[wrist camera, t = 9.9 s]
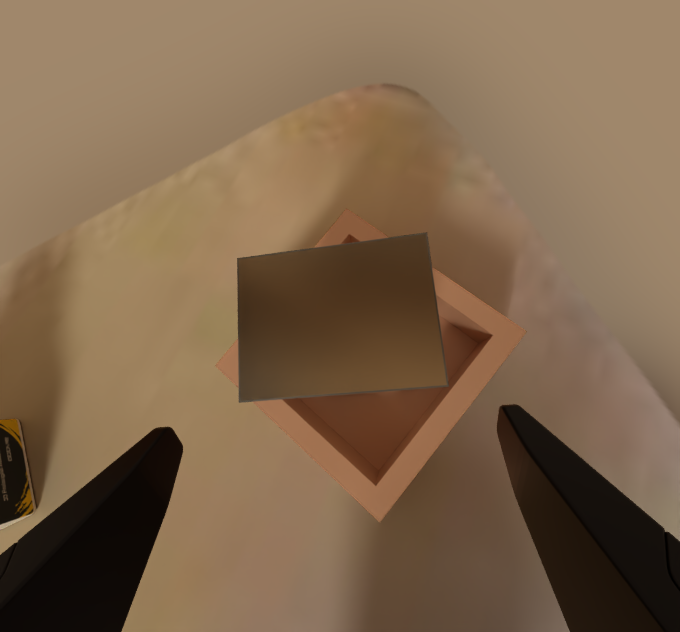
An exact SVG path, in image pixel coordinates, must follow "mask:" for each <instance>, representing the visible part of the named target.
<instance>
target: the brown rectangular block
mask: <svg viewBox="0 0 680 632" xmlns="http://www.w3.org/2000/svg"><path fill="white" fill-rule="evenodd" d="M237 277H238V376H239V403H240V402H254V401H267V400H280V399H293V398H306V397H320V396H333V395H346V394H359V393H372V392H385V391H399V390H412V389H425V388H438V387H449V383H448V376H447V369H446V362H445V355H444V348H443V341H442V334H441V327H440V320H439V313H438V306H437V299H436V292H435V285H434V278H433V271H432V264H431V257H430V250H429V243H428V236H427V232H426V233H419V234H412V235H404V236H397V237H390V238H382V239H375V240H368V241H360V242H353V243H346V244H338V245H331V246H324V247H316V248H309V249H302V250H294V251H287V252H280V253H273V254H265V255H258V256H251V257H243V258H237Z"/></svg>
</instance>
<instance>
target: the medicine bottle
mask: <svg viewBox="0 0 680 632" xmlns="http://www.w3.org/2000/svg"><path fill="white" fill-rule="evenodd" d="M35 510H36V505H35V500H34V494H33V489H32V484H31V478H30V473H29V468H28V462H27V457H26V452H25V446H24V441H23V436H22V430H21V425H20V421H19V420H18V419H5V420H0V530H1V529H3V528H5V527H7V526H9V525H11V524H14V523H16V522H18V521H20V520H22V519H24V518H26V517H28V516H30V515H32V514H33V513H34V512H35Z"/></svg>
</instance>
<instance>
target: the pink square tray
mask: <svg viewBox="0 0 680 632" xmlns="http://www.w3.org/2000/svg"><path fill="white" fill-rule="evenodd" d="M382 238H389V237H388V236H386V235H385V234H383V233H382V232H381V231H379V230H378V229H376V228H375V227H373V226H372V225H370V224H369V223H367V222H366V221H364V220H363V219H361V218H360V217H359V216H357V215H356V214H354V213H353V212H351V211H350V210H348V209H346V210H345V211H344V212H343V213H342V215H341V216H340V217H339V218H338V219H337V221H336V222H335V223H334V224H333V225H332V226H331V228H330V229H329V230H328V231H327V232H326V234H325V235H324V236H323V237H322V238H321V240H320V241H319V242H318V243H317V244H316V246H315V247H314V248H316V247H324V246H331V245H338V244H346V243H353V242H360V241H368V240H375V239H382ZM432 271H433V278H434V285H435V292H436V299H437V306H438V313H439V320H440V327H441V334H442V341H443V348H444V355H445V362H446V369H447V376H448V383H449V387H438V388H425V389H412V390H399V391H385V392H372V393H359V394H346V395H333V396H320V397H306V398H293V399H280V400H267V401H254V403H255V404H256V405H257V406H258V407H259V408H260V409H261V410H262V411H263V412H264V413H265V414H266V415H267V416H268V417H269V418H270V419H272V420H273V421H274V422H275V423H276V424H277V425H278V426H279V427H280V428H281V429H282V430H283V431H284V432H285V433H286V434H287V435H288V436H289V437H290V438H291V439H293V440H294V441H295V442H296V443H297V444H298V445H299V446H300V447H301V448H302V449H303V450H304V451H305V452H306V453H307V454H308V455H309V456H310V457H311V458H312V459H314V460H315V461H316V462H317V463H318V464H319V465H320V466H321V467H322V468H323V469H324V470H325V471H326V472H327V473H328V474H329V475H330V476H331V477H332V478H333V479H334V480H336V481H337V482H338V483H339V484H340V485H341V486H342V487H343V488H344V489H345V490H346V491H347V492H348V493H349V494H350V495H351V496H352V497H353V498H354V499H355V500H357V501H358V502H359V503H360V504H361V505H362V506H363V507H364V508H365V509H366V510H367V511H368V512H369V513H370V514H371V515H372V516H373V517H374V518H375V519H376V520H378V521H379V522H381V520H382V519H383V518H384V516H385V515H386V514H387V513H388V511H389V510H390V509H391V507H392V506H393V505H394V503H395V502H396V501H397V500H398V498H399V497H400V496H401V494H402V493H403V492H404V491H405V489H406V488H407V487H408V485H409V484H410V483H411V481H412V480H413V479H414V478H415V476H416V475H417V474H418V472H419V471H420V470H421V468H422V467H423V466H424V465H425V463H426V462H427V461H428V459H429V458H430V457H431V455H432V454H433V453H434V452H435V450H436V449H437V448H438V446H439V445H440V444H441V442H442V441H443V440H444V439H445V437H446V436H447V435H448V433H449V432H450V431H451V429H452V428H453V427H454V426H455V424H456V423H457V422H458V420H459V419H460V418H461V416H462V415H463V414H464V413H465V411H466V410H467V409H468V407H469V406H470V405H471V404H472V402H473V401H474V400H475V398H476V397H477V396H478V394H479V393H480V392H481V391H482V389H483V388H484V387H485V385H486V384H487V383H488V381H489V380H490V379H491V378H492V376H493V375H494V374H495V372H496V371H497V370H498V368H499V367H500V366H501V365H502V363H503V362H504V361H505V359H506V358H507V357H508V355H509V354H510V353H511V352H512V350H513V349H514V348H515V346H516V345H517V344H518V342H519V341H520V340H521V339H522V337H523V336H524V335H525V333H526V332H527V331H525V330H524V329H522V328H521V327H520V326H518V325H517V324H515V323H514V322H512V321H511V320H509V319H508V318H506V317H505V316H503V315H502V314H501V313H499V312H498V311H496V310H495V309H493V308H492V307H490V306H489V305H487V304H486V303H484V302H483V301H482V300H480V299H479V298H477V297H476V296H474V295H473V294H471V293H470V292H468V291H467V290H465V289H464V288H462V287H461V286H460V285H458V284H457V283H455V282H454V281H452V280H451V279H449V278H448V277H446V276H445V275H443V274H442V273H441V272H439V271H438V270H436V269H435V268H433V267H432ZM215 366H216V367H217V368H218V369H219V370H220V371H221V372H222V373H223V374H224V375H225V376H226V377H227V378H229V379H230V380H231V381H232V382H233V383H234V384H235V385H236V386H237V387H238V388H239V376H238V339H237V340H236V341H235V342H234V344H233V345H232V346H231V347H230V348H229V350H228V351H227V352H226V353H225V354H224V356H223V357H222V358H221V359H220V360H219V362H218V363H217V364H216V365H215Z"/></svg>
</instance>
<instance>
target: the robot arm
mask: <svg viewBox="0 0 680 632" xmlns="http://www.w3.org/2000/svg"><path fill="white" fill-rule="evenodd" d="M497 433H498V438H499V441H500V445H501V448H502V452H503V455H504V459H505V462H506V466H507V469H508V473H509V476H510V480H511V483H512V487H513V490H514V493H515V497H516V499H517V502H518V505H519V507H520V510H521V512H522V515H523V517H524V520H525V522H526V524H527V527H528V529H529V532H530V534H531V537H532V539H533V542H534V544H535V547H536V549H537V552H538V554H539V557H540V559H541V561H542V564H543V566H544V569H545V571H546V574H547V576H548V579H549V581H550V584H551V586H552V589H553V591H554V594H555V596H556V598H557V601H558V603H559V606H560V608H561V611H562V613H563V616H564V618H565V621H566V623H567V626H568V628H569V631H570V632H680V541H679V540H677V539H676V538H675V537H674V536H673V535H672V534H670V533H669V532H665V530H664V528H663V527H662V526H661V525H660V524H658V523H657V522H656V521H655V520H654V519H652V518H651V517H650V516H649V515H648V514H647V513H645V512H644V511H643V510H642V509H641V508H639V507H638V506H637V505H636V504H635V503H634V502H632V501H631V500H630V499H629V498H628V497H626V496H625V495H624V494H623V493H622V492H621V491H619V490H618V489H617V488H616V487H615V486H614V485H612V484H611V483H610V482H609V481H608V480H606V479H605V478H604V477H603V476H602V475H601V474H599V473H598V472H597V471H596V470H595V469H593V468H592V467H591V466H590V465H589V464H588V463H586V462H585V461H584V460H583V459H582V458H580V457H579V456H578V455H577V454H576V453H575V452H573V451H572V450H571V449H570V448H569V447H568V446H566V445H565V444H564V443H563V442H562V441H560V440H559V439H558V438H557V437H556V436H555V435H553V434H552V433H551V432H550V431H549V430H547V429H546V428H545V427H544V426H543V425H542V424H540V423H539V422H538V421H537V420H536V419H534V418H533V417H532V416H531V415H530V414H529V413H527V412H526V411H525V410H524V409H523V408H522V407H520V406H519V405H516V404H513V405H502V406H500V408H499V414H498V422H497ZM182 454H183V445H182V443H181V441H180V440H179V438H178V437H177V435H176V433H175V432H174V430H173V429H172V428H171V427H158V428H155V429H154V430H152V431H151V432H150V433H148V434H147V435H146V436H145V437H144V438H142V439H141V440H140V441H139V442H138V443H136V444H135V445H134V446H133V447H131V448H130V449H129V450H128V451H127V452H125V453H124V454H123V455H122V456H120V457H119V458H118V459H117V460H116V461H114V462H113V463H112V464H111V465H109V466H108V467H107V468H106V469H105V470H103V471H102V472H101V473H100V474H99V475H97V476H96V477H95V478H94V479H92V480H91V481H90V482H89V483H88V484H86V485H85V486H84V487H83V488H81V489H80V490H79V491H78V492H77V493H75V494H74V495H73V496H72V497H70V498H69V499H68V500H67V501H66V502H64V503H63V504H62V505H61V506H59V507H58V508H57V509H56V510H55V511H53V512H52V513H51V514H50V515H49V516H47V517H46V518H45V519H44V520H42V521H41V522H40V523H39V524H38V525H36V526H35V527H34V528H33V529H31V530H30V531H29V532H28V533H27V534H25V535H24V536H23V537H22V538H20V539H19V540H18V543H14V544H13V545H12V546H11V547H9V548H8V549H7V550H6V551H5V552H3V553H2V554H1V555H0V632H121V631H122V628H123V626H124V623H125V620H126V618H127V615H128V612H129V610H130V607H131V604H132V602H133V599H134V596H135V594H136V591H137V588H138V586H139V583H140V580H141V578H142V575H143V572H144V570H145V567H146V564H147V562H148V559H149V556H150V554H151V551H152V548H153V546H154V543H155V540H156V538H157V535H158V532H159V530H160V527H161V524H162V522H163V519H164V516H165V513H166V511H167V508H168V505H169V501H170V498H171V494H172V491H173V487H174V483H175V480H176V476H177V472H178V469H179V465H180V461H181V457H182Z"/></svg>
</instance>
